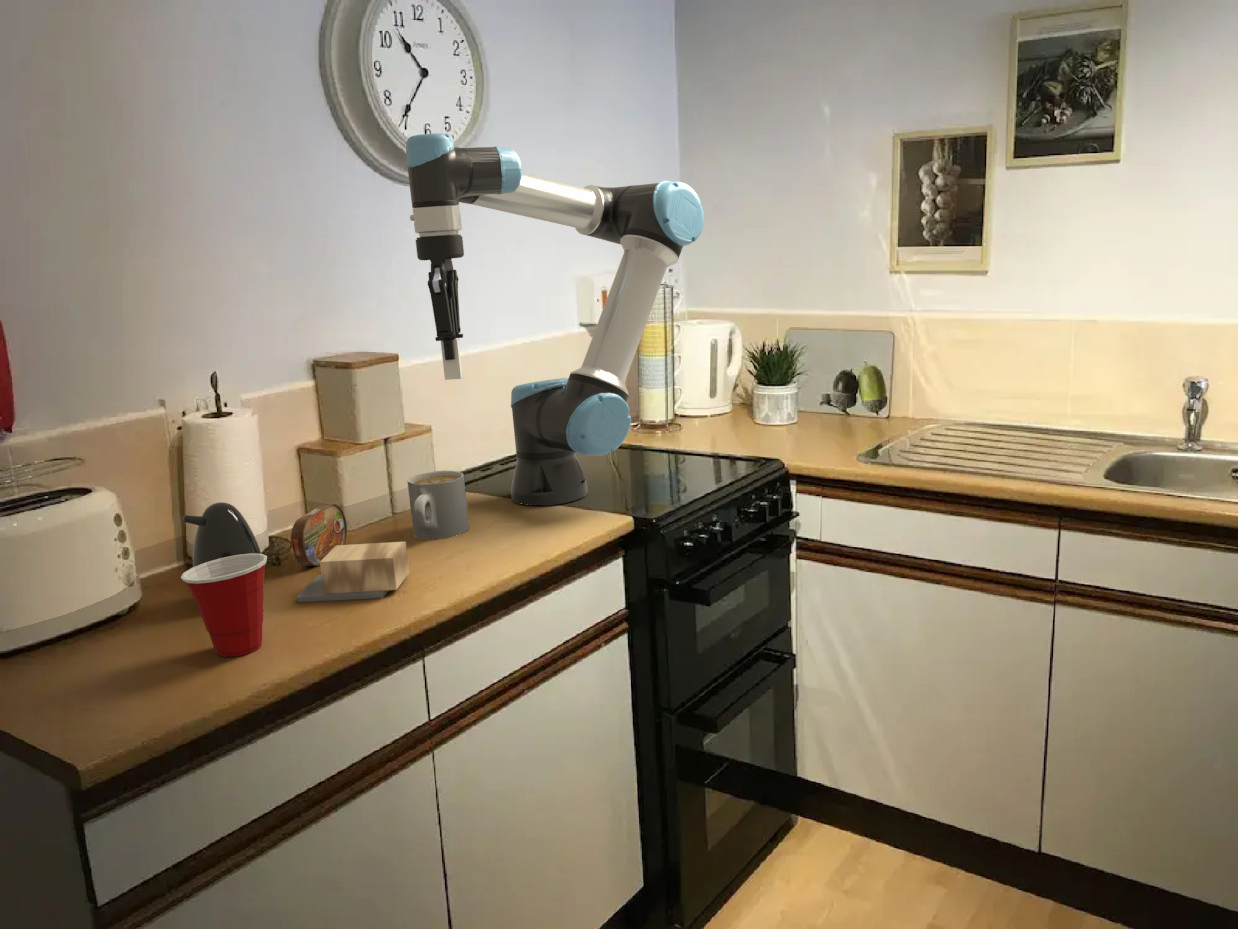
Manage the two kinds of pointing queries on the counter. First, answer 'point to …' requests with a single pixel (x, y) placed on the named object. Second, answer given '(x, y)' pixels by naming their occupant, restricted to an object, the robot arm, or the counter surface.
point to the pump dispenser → (221, 534)
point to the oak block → (364, 567)
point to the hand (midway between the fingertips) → (453, 378)
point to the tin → (318, 534)
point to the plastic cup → (230, 601)
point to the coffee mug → (438, 504)
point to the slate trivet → (317, 593)
